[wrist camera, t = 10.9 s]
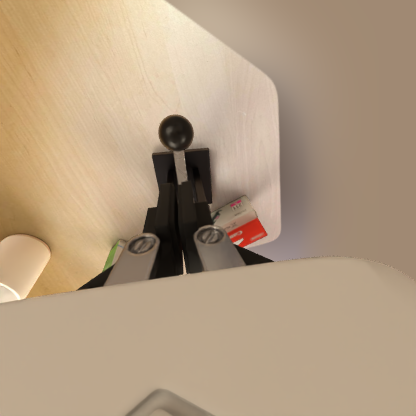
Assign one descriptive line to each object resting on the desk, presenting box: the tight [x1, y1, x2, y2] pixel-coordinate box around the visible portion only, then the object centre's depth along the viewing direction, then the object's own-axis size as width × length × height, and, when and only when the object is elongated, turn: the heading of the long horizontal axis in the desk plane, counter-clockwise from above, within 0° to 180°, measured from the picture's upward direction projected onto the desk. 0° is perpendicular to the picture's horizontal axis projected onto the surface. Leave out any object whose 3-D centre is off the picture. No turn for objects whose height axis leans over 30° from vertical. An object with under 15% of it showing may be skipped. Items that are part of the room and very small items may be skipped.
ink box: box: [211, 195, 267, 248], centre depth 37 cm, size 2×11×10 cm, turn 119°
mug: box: [0, 234, 51, 303], centre depth 36 cm, size 11×9×10 cm
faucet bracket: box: [152, 148, 212, 213], centre depth 31 cm, size 10×9×13 cm
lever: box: [158, 115, 195, 203], centre depth 24 cm, size 13×4×4 cm, turn 4°
